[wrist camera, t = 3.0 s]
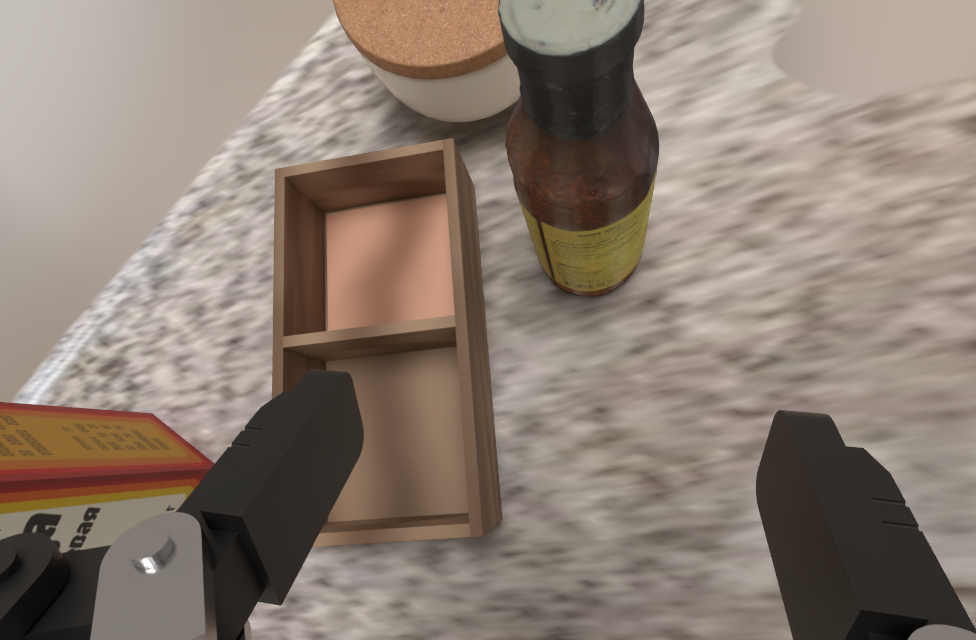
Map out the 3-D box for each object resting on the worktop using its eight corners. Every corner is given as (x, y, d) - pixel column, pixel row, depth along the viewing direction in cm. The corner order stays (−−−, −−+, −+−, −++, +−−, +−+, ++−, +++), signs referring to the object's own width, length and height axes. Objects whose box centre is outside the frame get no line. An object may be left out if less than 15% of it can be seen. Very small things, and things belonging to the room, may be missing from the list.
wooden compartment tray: (474, 187, 36) (453, 138, 30) (502, 519, 31) (482, 536, 25) (317, 212, 38) (268, 170, 32) (320, 531, 33) (262, 549, 27)
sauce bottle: (662, 246, 33) (765, -28, 14) (592, 321, 33) (599, 147, 14) (580, 183, 35) (572, -135, 16) (513, 253, 35) (423, 17, 15)
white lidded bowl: (375, 155, 38) (293, 42, 27) (401, 0, 41) (335, -158, 30) (557, 157, 35) (544, 34, 25) (572, -8, 38) (567, -183, 27)
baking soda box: (131, 601, 34) (-246, 729, 19) (66, 538, 36) (-329, 608, 20) (220, 468, 35) (-71, 486, 19) (152, 413, 37) (-164, 390, 21)
